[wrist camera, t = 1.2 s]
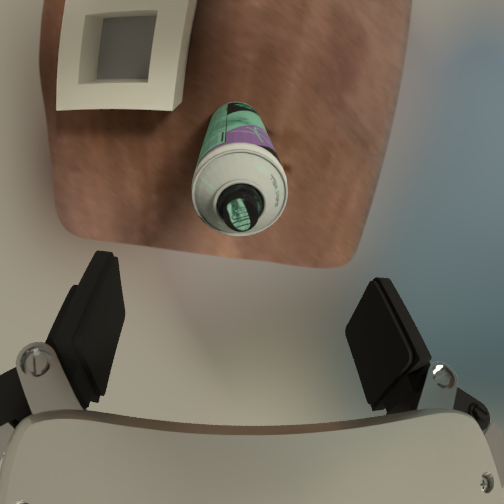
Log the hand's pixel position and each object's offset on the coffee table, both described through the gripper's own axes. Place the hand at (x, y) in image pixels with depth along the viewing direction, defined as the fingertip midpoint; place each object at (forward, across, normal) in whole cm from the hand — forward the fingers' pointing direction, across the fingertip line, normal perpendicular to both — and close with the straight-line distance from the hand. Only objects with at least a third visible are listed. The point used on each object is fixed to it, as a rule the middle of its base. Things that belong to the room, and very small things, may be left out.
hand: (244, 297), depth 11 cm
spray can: (+25, 0, -1) cm, 25 cm away
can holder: (+25, +12, -9) cm, 29 cm away
